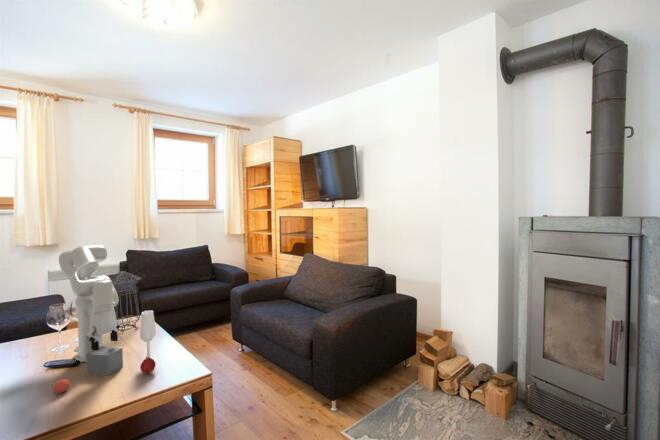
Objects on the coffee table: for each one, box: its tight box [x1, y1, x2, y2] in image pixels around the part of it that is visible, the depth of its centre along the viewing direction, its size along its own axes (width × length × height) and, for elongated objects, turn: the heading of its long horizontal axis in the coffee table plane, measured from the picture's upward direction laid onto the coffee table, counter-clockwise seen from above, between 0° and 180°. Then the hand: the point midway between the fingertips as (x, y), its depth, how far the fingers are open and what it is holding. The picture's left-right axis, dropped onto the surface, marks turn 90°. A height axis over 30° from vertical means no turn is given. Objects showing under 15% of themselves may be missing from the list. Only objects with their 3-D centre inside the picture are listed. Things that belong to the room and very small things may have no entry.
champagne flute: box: [139, 310, 158, 364], centre depth 151 cm, size 7×7×24 cm
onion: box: [139, 356, 156, 375], centre depth 140 cm, size 6×6×8 cm
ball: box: [52, 378, 71, 394], centre depth 126 cm, size 5×5×5 cm
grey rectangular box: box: [86, 345, 124, 376], centre depth 144 cm, size 11×8×9 cm
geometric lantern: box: [109, 270, 143, 332], centre depth 194 cm, size 16×16×35 cm
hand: (105, 345), depth 143 cm, fingers open, 9 cm apart
